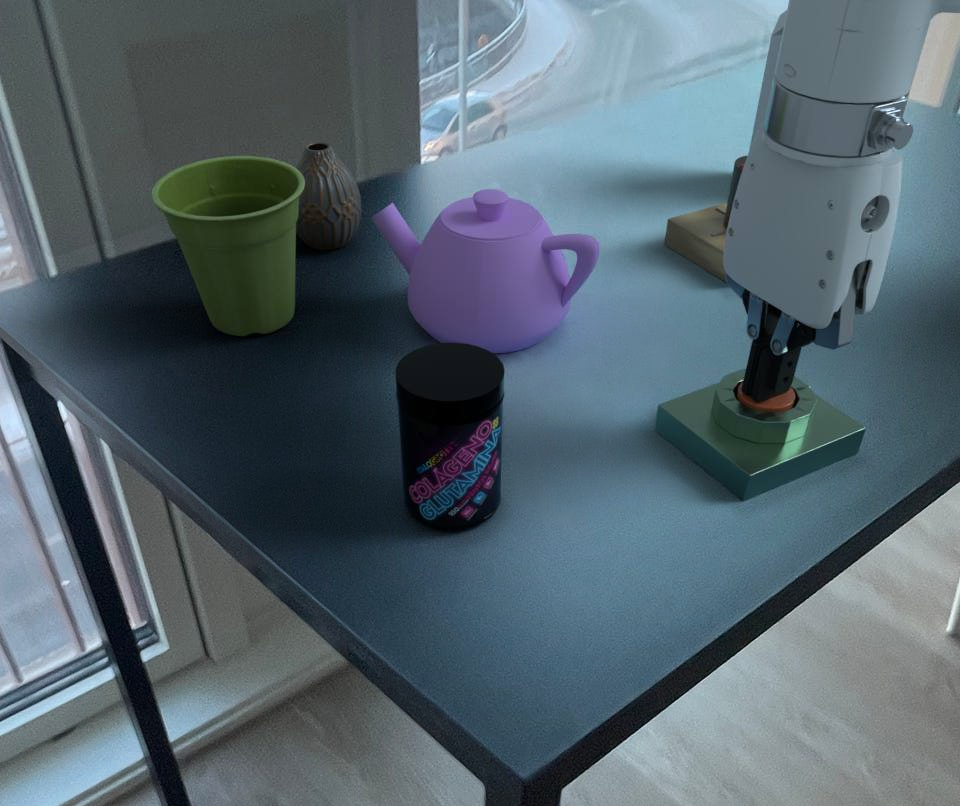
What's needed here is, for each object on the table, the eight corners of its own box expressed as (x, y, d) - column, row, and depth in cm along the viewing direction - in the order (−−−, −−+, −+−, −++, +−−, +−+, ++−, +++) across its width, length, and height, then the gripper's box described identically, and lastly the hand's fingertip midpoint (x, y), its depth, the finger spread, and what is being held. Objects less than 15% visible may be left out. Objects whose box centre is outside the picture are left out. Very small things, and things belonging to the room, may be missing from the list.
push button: (763, 392, 75) (768, 371, 73) (801, 418, 72) (807, 397, 71) (722, 407, 73) (726, 386, 72) (759, 435, 71) (764, 413, 70)
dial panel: (750, 219, 101) (755, 192, 99) (822, 258, 95) (829, 231, 93) (663, 244, 97) (667, 216, 95) (733, 287, 91) (738, 258, 89)
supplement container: (386, 521, 68) (375, 386, 60) (428, 466, 72) (423, 333, 65) (478, 547, 66) (479, 411, 59) (515, 488, 70) (521, 355, 63)
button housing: (764, 388, 79) (775, 342, 77) (858, 452, 74) (873, 405, 71) (654, 429, 75) (661, 382, 73) (743, 501, 70) (755, 453, 67)
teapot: (411, 261, 94) (406, 142, 86) (615, 304, 89) (629, 181, 81) (339, 330, 85) (326, 204, 78) (561, 382, 80) (571, 252, 72)
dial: (749, 211, 96) (761, 147, 92) (781, 228, 94) (795, 164, 89) (713, 221, 95) (725, 157, 90) (745, 239, 92) (758, 174, 88)
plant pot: (209, 280, 91) (184, 150, 83) (336, 291, 90) (322, 160, 82) (159, 346, 83) (125, 210, 75) (297, 360, 82) (278, 223, 74)
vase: (302, 262, 94) (290, 165, 87) (284, 232, 98) (271, 137, 92) (373, 250, 96) (366, 154, 89) (352, 221, 100) (343, 127, 94)
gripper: (981, 147, 55) (881, 429, 68) (790, 69, 64) (734, 332, 77) (884, 174, 52) (800, 463, 66) (699, 89, 61) (657, 358, 74)
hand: (765, 392), depth 71 cm, fingers closed
